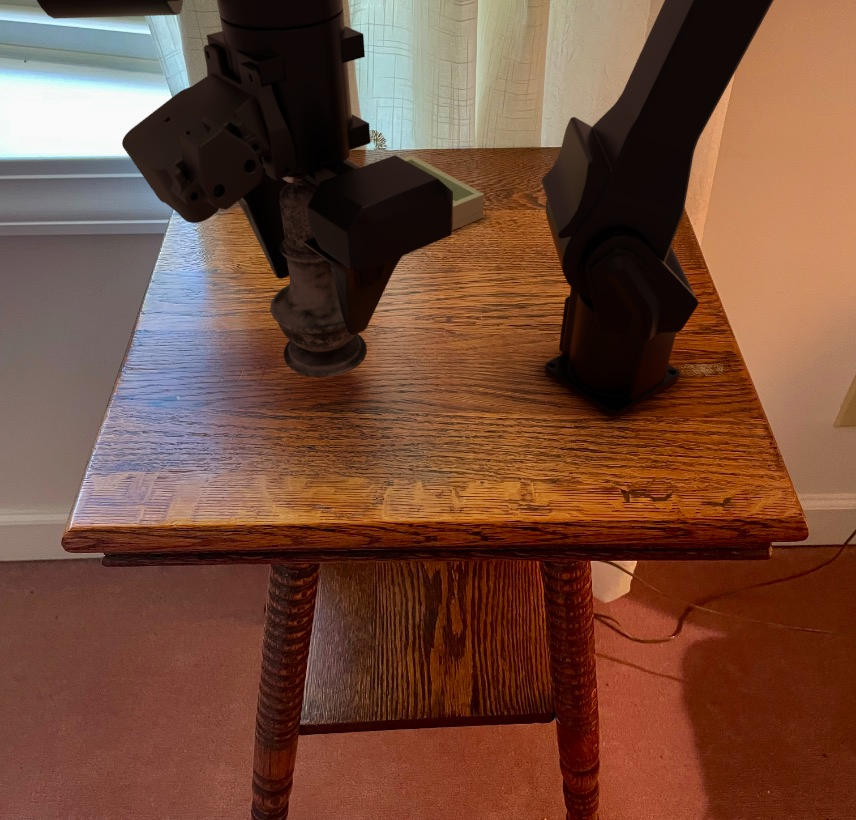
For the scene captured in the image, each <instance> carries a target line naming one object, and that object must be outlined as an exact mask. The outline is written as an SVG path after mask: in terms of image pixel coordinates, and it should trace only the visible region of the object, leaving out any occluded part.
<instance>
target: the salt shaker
mask: <svg viewBox="0 0 856 820" xmlns="http://www.w3.org/2000/svg"><path fill="white" fill-rule="evenodd" d="M314 193H315V190H313V189H312V188H310V187H309V186H307V185H306V184H304V183H302V182H301V181H297V182H294V183H288V184H286V185H285V186H284V187H283V189H282V191H281V192H280V200H279V202H280V208H281V215H282V222H283V228H284V235H285V238H284V239H283V240H282V242H281V244H280V251H281V253H282V255H284V256H285V257H286V258H287V263H288V270H289V276H288V277H289V284H287V285H285V286H283V287H282V288H281V289H280V290H279V291H278V292H277V293H275V295H274V296H273V298H272V300H271V301H270V308H269V311H270V313H271V316H272V318H273V319H274V321H276V323H278V326H279V329H280V330H281V332H282V334H284V336H285V337H286V339H288V342H286V344H285V346H284V347H283V352H282V353H283V354H282V357H283V360H284V362H285V364H286V366H287V367H288V368H289V369H290V370H292V371H293V372H295V373H297V374H299V375H302V376H305V377H310V378H333V377H337V376H342V375H344V374H346V373H349V372H352V371H353V370H354V369H356V368H357V367H359V366H360V365H361V364H362V363H363V362H364V360H365V359H366V356H367V354H368V349H367V348H368V347H367V346H368V345H367V343H366V341H365V339H364V337H362V336H361V335H360V333H358V334H356V335H351V334H349V333H348V332H347V329H346V326H345V323H344V319H343V316H342V312H341V308H340V304H339V299H338V295H337V290H336V286H335V282H334V277H333V273H332V268H331V264H330V262H328V261H327V260H326V259H324V258H323V257H321V256H320V255H319V254H317V253H316V252H314V251H313V250H311V249H310V248H309V247H307V246H306V245H305V244H304V241H306V240H309V239H311V238H314V235H313V233H312V231H311V229H310V226H309V219H308V211H307V205H308V203H309V202H310V200H311V198H312V196H313V195H314Z"/></svg>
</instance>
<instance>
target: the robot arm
mask: <svg viewBox="0 0 856 820" xmlns="http://www.w3.org/2000/svg"><path fill="white" fill-rule="evenodd" d="M36 1H37V3H38V5H39V7H40V8H41V9H42V11H43V12H44V13H45V14H46V15H47V16H48V17H50V18H52V19H54V20H55V19H81V18H82V19H85V18H86V19H88V18H119V17H120V18H121V17H151V16H152V17H153V16H155V17H156V16H157V17H158V16H178V15H181V13H182V11H183V5H184V0H36ZM774 1H775V0H664V1H663V3H662V5H661V8H660V10H659V12H658V14H657V17H656V18H655V20H654V22H653V25H652V27H651V30H650V32H649V34H648V36H647V38H646V39H645V40H646V41H645V42H644V45H643V47H642V49H641V51H640V53H639V55H638V58H637V60H636V61H635V64H634V67H633V68H632V71H631V73H630V75H629V77H628V80H627V82H626V84H625V86H624V89H623V91H622V93H621V94H620V96H619V97H618V99H617V101H615V103H614V104H613V105H612V106H611V108H609V110H607V111H606V112H605V113H604V115H602V116H601V117H600V118H599V119H598V120H597V121H596V122H595V123H594V124H593V125H591V124H588V123H587V122H585V121H582V120H581V119H579V118H578V117H575V116H573V117H570V118H569V121H568V123H567V125H566V128H565V131H564V135H563V140H562V144H561V147H560V149H559V154H558V156H557V158H556V160H555V161H554V163H553V165H552V167H551V168H550V169H549V171H547V172H546V173H545V175H544V176H543V177H542V178H541V184H542V187H543V191H544V194H545V197H546V200H545V215H546V220H547V225H548V227H549V230H550V233H551V237H552V241H553V244H554V248H555V251H556V254H557V257H558V261H559V264H560V268H561V271H562V273H563V276H564V278H565V280H566V283H567V285H569V287H570V291H569V296H566V297H565V299H564V304H563V313H562V322H561V327H560V337H559V344H558V350H559V352H560V353H561V354H559V355H557V356H556V357H553V358H551V359H550V360H548V361H546V363H545V364H544V368H543V369H544V370H543V371H544V373H545V374H546V375H548V376H550V377H551V378H552V379H554V380H555V381H557V382H559V383H560V384H562V385H563V386H564V387H566V388H567V389H569V390H570V391H572V392H573V393H575V394H576V395H578V396H579V397H581V398H582V399H584V400H585V401H587V402H588V403H590V404H591V405H593V406H594V407H595V408H597V409H599V410H600V411H602V412H603V413H605V414H606V415H608V416H609V417H612V418H617V417H619V416H622V415H623V414H625V413H626V412H628V411H630V410H631V409H633V408H635V407H637V406H638V405H640V404H641V403H643V402H644V401H646V400H648V399H650V398H651V397H653V396H654V395H656V394H658V393H660V392H661V391H663V390H664V389H666V388H667V387H669V386H671V385H673V384H674V383H676V382H677V381H678V380H679V378H680V375H681V373H680V370H678V369H677V368H676V367H674V366H673V365H671V364H670V360H671V355H672V351H673V347H674V344H675V338H676V335H677V333H679V332H681V331H682V330H683V329H684V327H685V326H686V324H687V322H688V321H689V320H690V318H692V315H693V314H694V312H695V311H696V309H697V308H698V306H699V300H698V298H697V296H696V294H695V291H694V290H693V288H692V286H691V283H690V281H689V279H688V277H687V275H686V273H685V270H684V269H683V267H682V265H681V263H680V261H679V259H678V257H677V255H676V253H675V250H674V248H673V246H672V245H673V244H674V240H675V238H676V235H677V232H678V230H679V227H680V224H681V221H682V219H683V216H684V212H685V207H686V200H687V195H688V190H689V189H688V188H689V183H690V178H691V171H692V166H693V160H694V154H695V151H696V147H697V144H698V142H699V139H700V138H701V136H702V134H703V132H704V130H705V128H706V127H707V125H708V123H709V121H710V119H711V117H712V115H713V113H714V111H715V110H716V108H717V106H718V105H719V102H720V101H721V99H722V98H723V96H724V94H725V92H726V89H727V87H728V86H729V84H730V83H731V80H732V78H733V76H734V75H735V73H736V71H737V69H738V67H739V66H740V64H741V62H742V60H743V58H744V56H745V55H746V52H747V51H748V49H749V47H750V45H751V43H752V41H753V39H754V38H755V36H756V34H757V32H758V30H759V29H760V27H761V25H762V22H763V21H764V19H765V17H766V16H767V14H768V12H769V10H770V8H771V6H772V5H773V2H774ZM216 3H217V9H218V15H219V20H220V27H221V31H216V32H213V33H209V34H206V41H207V44H205V45H204V46H203V54H204V59H205V64H206V76H205V77H204V78H201V80H199V81H198V82H195V84H193V85H191V86H188V87H187V88H184V89H182V90H181V91H179V92H177V93H176V94H175V95H173V96H172V97H171V98H169V99H168V100H167V101H165V102H164V103H163V104H162V105H160V106H159V107H157V108H156V109H155V110H154V111H152V112H151V113H150V114H149V115H148V116H146V117H145V118H144V119H142V120H141V121H140V122H139V123H137V124H136V125H135V126H133V127H132V128H131V129H130V130H129V131H128V132H126V133H125V135H124V136H123V138H122V141H121V144H122V148H123V149H124V151H125V152H126V154H127V155H128V157H129V159H131V161H132V163H133V164H134V165H135V167H136V168H137V169H138V171H139V173H140V174H141V175H142V177H143V178H144V180H145V181H146V182H147V184H148V185H149V187H150V189H151V190H152V191H153V193H154V194H155V196H156V197H157V198H158V200H159V201H160V202H161V203H163V204H164V203H165V205H167V206H169V208H171V209H172V210H173V211H175V212H176V213H177V214H178V215H179V216H180V217H181V218H182V219H183V220H185V221H186V222H188V223H191V224H197V223H198V224H199V223H202V222H205V221H207V220H209V219H210V218H211V217H213V216H214V215H215V214H217V213H218V211H219V210H220V209H221V210H228V209H230V208H231V207H232V206H234V205H236V204H237V202H238V204H239V206H240V208H241V210H242V211H243V214H244V215H245V217H246V219H247V221H248V224H249V225H250V227H251V230H252V231H253V234H254V236H255V238H256V240H257V242H258V244H259V247H260V248H261V250H262V252H263V254H264V256H265V259H266V260H267V263H268V264H269V267H270V268H271V271H272V273H273V275H274V276H275V277H276V278H277V279H278V280H283V279H285V278H287V277H290V276H289V270H288V263H287V258H286V257H285V256H284V255H282V253H281V251H280V244H281V242H282V240H283V239H284V238H285V235H284V228H283V222H282V215H281V208H280V202H279V200H280V192H281V191H282V189H283V187H284V186H285V185H286V184H288V183H294V182H297V181H301V182H302V183H304V184H306V185H307V186H309V187H310V188H312V189H313V190H315V193H314V195H313V196H312V198H311V200H310V202H309V203H308V205H307V211H308V219H309V226H310V229H311V231H312V233H313V235H314V238H311V239H309V240H306V241H304V244H305V245H306V246H307V247H309V248H310V249H311V250H313V251H314V252H316V253H317V254H319V255H320V256H321V257H323V258H324V259H326V260H327V261H328V262H330V264H331V268H332V273H333V277H334V282H335V286H336V290H337V295H338V299H339V304H340V308H341V312H342V316H343V319H344V323H345V326H346V329H347V332H348V333H349V334H351V335H356V334H360V333H362V332H364V331H365V330H366V329H368V326H369V324H370V322H371V320H372V318H373V315H374V314H375V311H376V310H377V307H378V305H379V302H380V301H381V298H382V296H383V294H384V293H385V290H386V288H387V285H388V283H389V281H390V279H391V278H392V275H393V274H394V272H395V269H396V267H397V266H398V264H399V262H400V261H401V259H402V258H403V256H406V255H408V254H410V253H413V252H415V251H418V250H419V249H422V248H424V247H426V246H429V245H431V244H434V243H437V242H438V241H441V240H443V239H446V238H449V237H451V236H452V233H453V230H452V228H453V191H452V190H451V189H449V188H448V187H447V186H446V185H445V184H444V183H443V182H441V181H440V180H439V179H438V178H436V177H434V176H432V175H431V174H429V173H427V172H425V171H423V170H421V169H420V168H418V167H416V166H414V165H412V164H410V163H409V162H407V161H405V160H403V159H404V158H401V157H399V155H396V154H394V155H391V156H389V157H386V158H383V159H381V160H377V161H375V162H372V163H369V164H366V165H363V166H361V165H359V164H357V163H356V162H354V161H352V160H351V159H349V158H350V156H351V155H350V151H352V150H355V149H357V148H360V147H364V146H366V145H369V144H371V131H370V122H367V121H366V120H364V119H362V118H360V117H358V116H357V115H354V114H352V101H351V89H350V76H349V62H352V61H355V60H358V59H363V58H366V51H365V38H364V37H365V36H364V33H363V32H360V31H358V30H355V29H353V28H351V27H349V26H346V25H345V24H346V23H345V13H344V1H343V0H216Z"/></svg>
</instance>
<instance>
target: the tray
mask: <svg viewBox="0 0 856 820" xmlns="http://www.w3.org/2000/svg"><path fill="white" fill-rule="evenodd" d="M402 159H403V160H405V161H407V162H409V163H410V164H412V165H414V166H416V167H418V168H420V169H421V170H423V171H425V172H427V173H429V174H431V175H432V176H434V177H436V178H438V179H439V180H440V181H441V182H443V183H444V184H445V185H446V186H447V187H448V188H449V189H451V190H452V191H453V228H452V231H454V230H457V229H459V228H461V227H465V226H467V225H469V224H471V223H473V222H477V221H479V220H481V219H483V218H484V205H485V202H484V201H485V194H484V193H482V192H481V191H479V190H478V189H476V188H473V187H472V186H471V185H468V184H466V183H465V182H463V181H461V180H458V179H457V178H455V177H454V176H451V175H450V174H447V173H446V172H445V171H442V170H440V169H438V168H437V167H434V166H433V165H431V164H429V163H427V162H425V161H423V160H422V159H420V158H417V157H416V156H414V155H410V156H409V155H408V156H406V157H404V158H402Z"/></svg>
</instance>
